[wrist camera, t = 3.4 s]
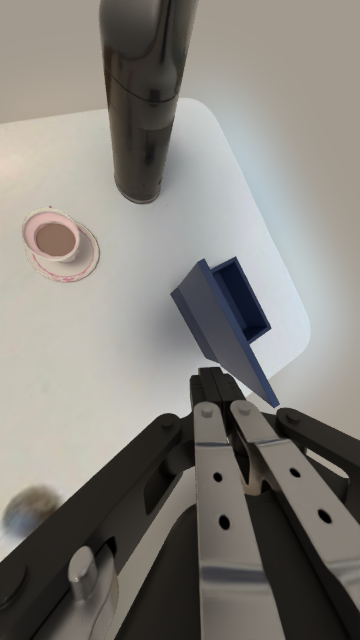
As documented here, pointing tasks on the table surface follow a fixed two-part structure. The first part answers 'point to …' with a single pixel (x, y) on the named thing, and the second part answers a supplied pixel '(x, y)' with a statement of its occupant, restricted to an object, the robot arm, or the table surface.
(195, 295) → the lid
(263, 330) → the case
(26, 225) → the teacup
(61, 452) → the table surface
